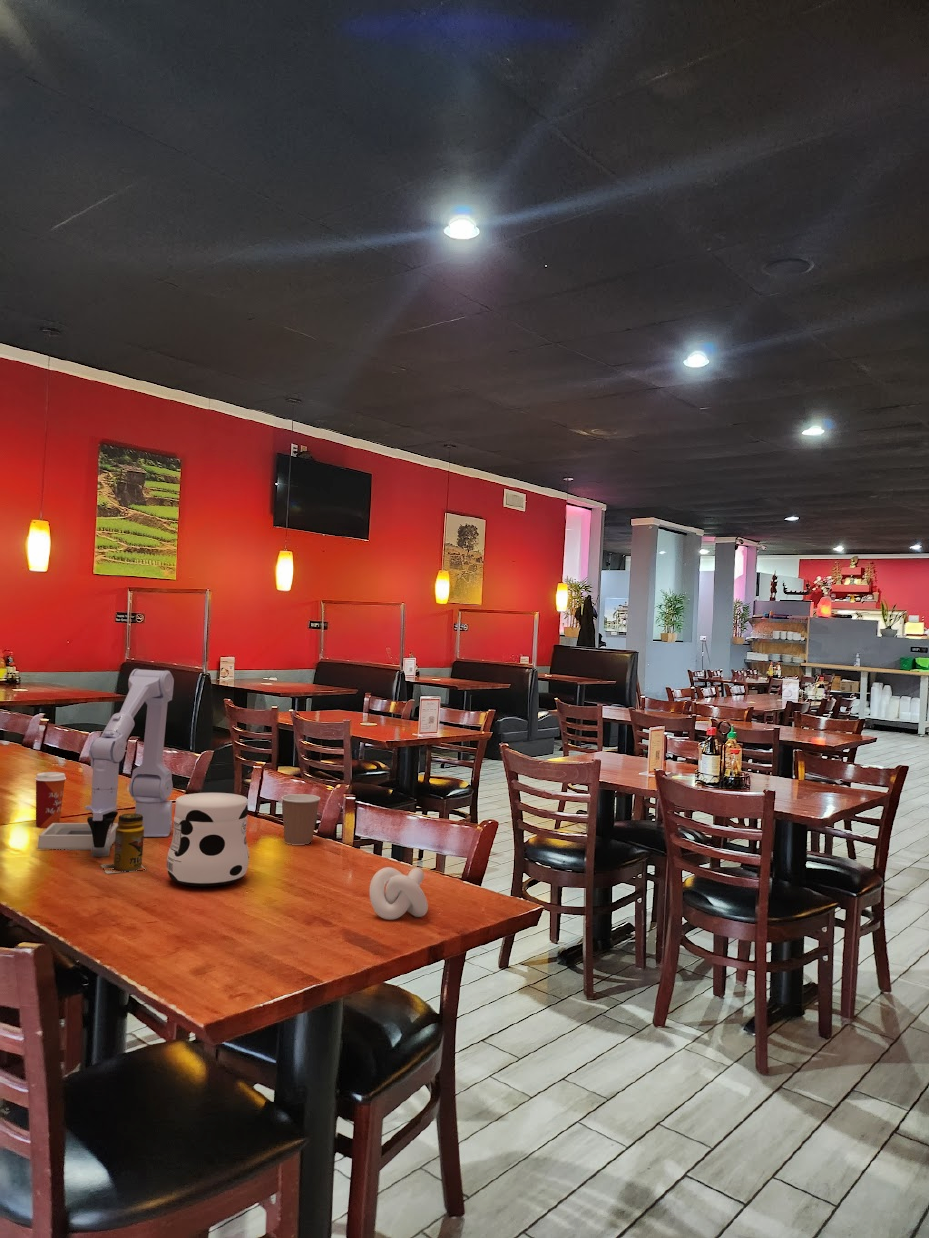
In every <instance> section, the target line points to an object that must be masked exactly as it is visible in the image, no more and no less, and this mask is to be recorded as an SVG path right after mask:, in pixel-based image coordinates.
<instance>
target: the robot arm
mask: <svg viewBox="0 0 929 1238" xmlns="http://www.w3.org/2000/svg"><path fill="white" fill-rule="evenodd" d="M174 682H175V679H174V677H173V674H172V673H171V671H170V670H167V669H166V670H158V669H157V670H154V669H153V670H152V669H140V668H134V669H133V670H132V671H131V672H130V674H129V678H128V683H127V685H128V693H127V694H126V697H125V699H124V702H123V704H122V706H121V709H120V711H119V712H116V713H114V714H112V716H111V717H110V719H109V721H108V723H107V725H106V726H105V728H104V730H103V732H102V733H101V735H100V736H99V737H97V738H94V739H93V740H92V741H91V743H90V745H89V749H88V756H89V759H90V767H91V769H92V778H91V779H92V781H91V798H90V805H85V806H84V809H85V810H88V811H89V812H91V813H92V814H91V815H92V816H87V820H86V821H87V822H86V823H88V824H89V826H90V828H91V831H92V837H93V843H94V847H95V848H103V847H104V846H105V843H106V838H107V833H108V830H109V827H110V825H111V828H112V825H113V823H115V819H116V818H117V817H118V814H119V811H117V810H118V803H117V802H118V801H117V800H118V787H119V786H118V785H119V772H120V762H121V761H122V760H123V759H124V756H125V753H126V747H127V744H128V742H127V740H128V738H129V736H130V734H131V733H132V731H133V729H134V727H135V724H136V723H135V720H134V718H135V716H136V715H137V713H138V711H139V710H140V709H141V708H142V706H143V705H144V704H146V706H147V708H146V717H145V718H146V719H145V729H144V731H145V732H144V738H143V739H144V740H143V751H142V762H141V764H140V765H138V766H136V767H135V768H134V769H132V774H131V779H130V781H129V785H128V791H129V794H130V797H131V798H132V800H133V801H134V802H135V807H134V809H135V810H134V814H141V815H142V816H143V824H142V826H143V827H144V837H143V838H148V837H149V838H157V837H158V838H162V837H163V838H164V837H165V838H167V837H169V836H170V834H171V831H172V828H173V827H172V826H173V822H172V820H173V801H172V800H168V799H169V798H170V797H171V796H172V792H173V787H174V785H173V780H172V777H173V774H172V773H173V772H172V771H171V769H169V768H168V767H167V766H166V765H165V764H164V763H163V758H164V749H165V748H164V747H165V735H166V723H167V714H168V713H167V712H168V703H169V702H170V701H173V695H174V684H175V683H174Z"/></svg>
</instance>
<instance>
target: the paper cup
mask: <svg viewBox="0 0 929 1238" xmlns="http://www.w3.org/2000/svg"><path fill="white" fill-rule="evenodd" d="M65 780H67V777H66V774H65V773H64V772H58V771H46V772H38V773H37V774H36V777H34V781H35V827H36V828H39V829H42V828H43V829H47V828H48V827H49V826H50V825H51V824H52V823H60V821H61V814H62V804H63V796H64V790H65V789H64V788H65V782H66V781H65Z"/></svg>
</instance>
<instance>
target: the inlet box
mask: <svg viewBox="0 0 929 1238" xmlns="http://www.w3.org/2000/svg"><path fill="white" fill-rule="evenodd" d="M117 827H118V822H113V825H112V828H111V838H110V848H111V847H112V846H113V845H114V844H115V835H116V828H117ZM37 839H38V840H37V850H38V849H45V850H44V851H47V850H46V849H52V850H51V851H54V850H53V849H56V850H55V851H92V831H91V828H90V826H89V824H88V822H59V823H52V824H51V825H50V826H49V827H48V828H45V829H44V830H43V831H42V832H41V833H40V834H38V838H37ZM112 844H113V845H112ZM57 849H59V850H57ZM60 849H61V850H60ZM64 849H65V850H64ZM75 849H76V850H75Z"/></svg>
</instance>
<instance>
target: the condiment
mask: <svg viewBox="0 0 929 1238" xmlns="http://www.w3.org/2000/svg"><path fill="white" fill-rule="evenodd" d="M117 823H118V827H117V828H116V835H115V842H114V853H113V854H114V855H113V863H112V864H106V863H105V864H100V867H101V869H103V868H104V869H105V868H114V869H112V870H116V871H122V872H115V871H113V872H112V871H111V869H110V870H109V869H108V870H105V871H104V872H105V873H106V874H107V875H108V874H109V875H110V874H118V873H119V874H120V873H127V872H126V871H129V872H128V873H132V872H138V871H137V870H138V869H140V868H144V869H145V870H144V871H146V870H147V869H146V867H144V866H143V865H142V864H143V855H144V854H143V852H144V838H145V837H144V827H143V826H142V824H143V816H142V815H141V814H135V813H123V814H120V815H119V816H118V821H117ZM134 870H136V871H134ZM123 871H124V872H123Z"/></svg>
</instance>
